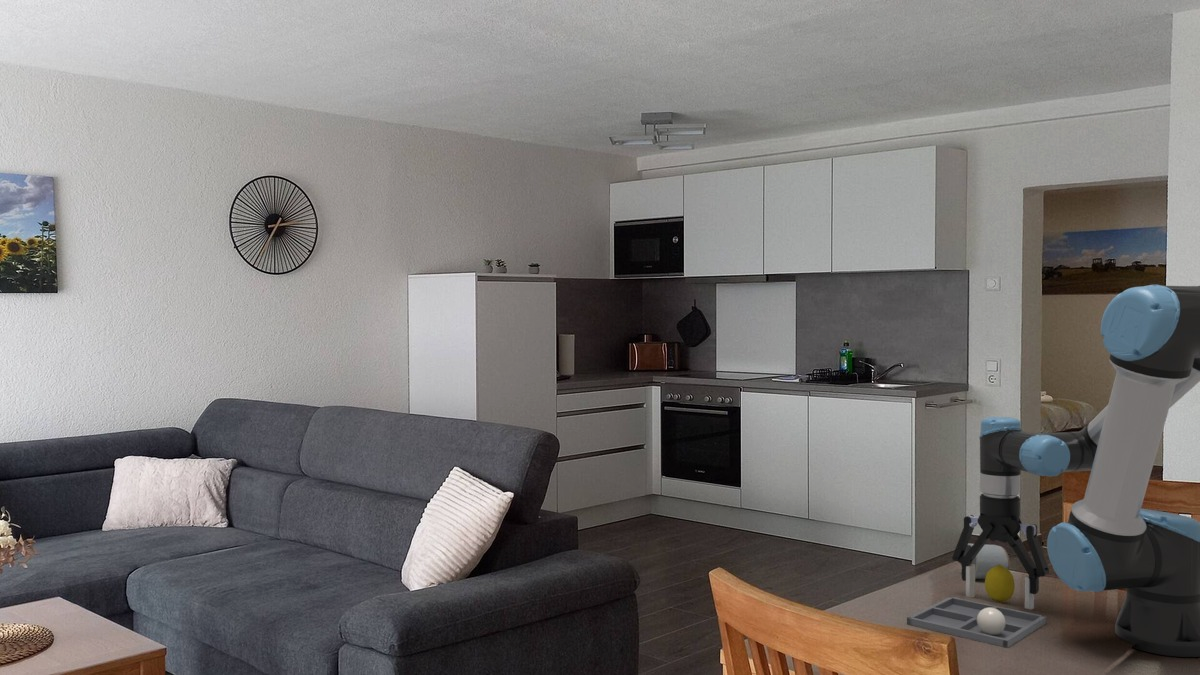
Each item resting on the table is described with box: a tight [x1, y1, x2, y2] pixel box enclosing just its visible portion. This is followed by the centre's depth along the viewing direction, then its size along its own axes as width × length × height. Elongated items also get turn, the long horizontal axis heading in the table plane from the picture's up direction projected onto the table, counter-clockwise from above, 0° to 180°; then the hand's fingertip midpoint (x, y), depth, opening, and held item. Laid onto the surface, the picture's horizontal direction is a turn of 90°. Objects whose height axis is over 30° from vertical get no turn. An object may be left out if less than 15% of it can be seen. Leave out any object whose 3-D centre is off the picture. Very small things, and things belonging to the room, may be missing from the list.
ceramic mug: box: [964, 542, 1011, 580], centre depth 214 cm, size 11×8×8 cm
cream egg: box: [977, 607, 1006, 635], centre depth 172 cm, size 5×5×5 cm
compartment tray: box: [906, 596, 1048, 649], centre depth 178 cm, size 18×18×2 cm
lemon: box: [984, 565, 1016, 605], centre depth 193 cm, size 6×6×8 cm
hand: (999, 603), depth 194 cm, fingers open, 11 cm apart
